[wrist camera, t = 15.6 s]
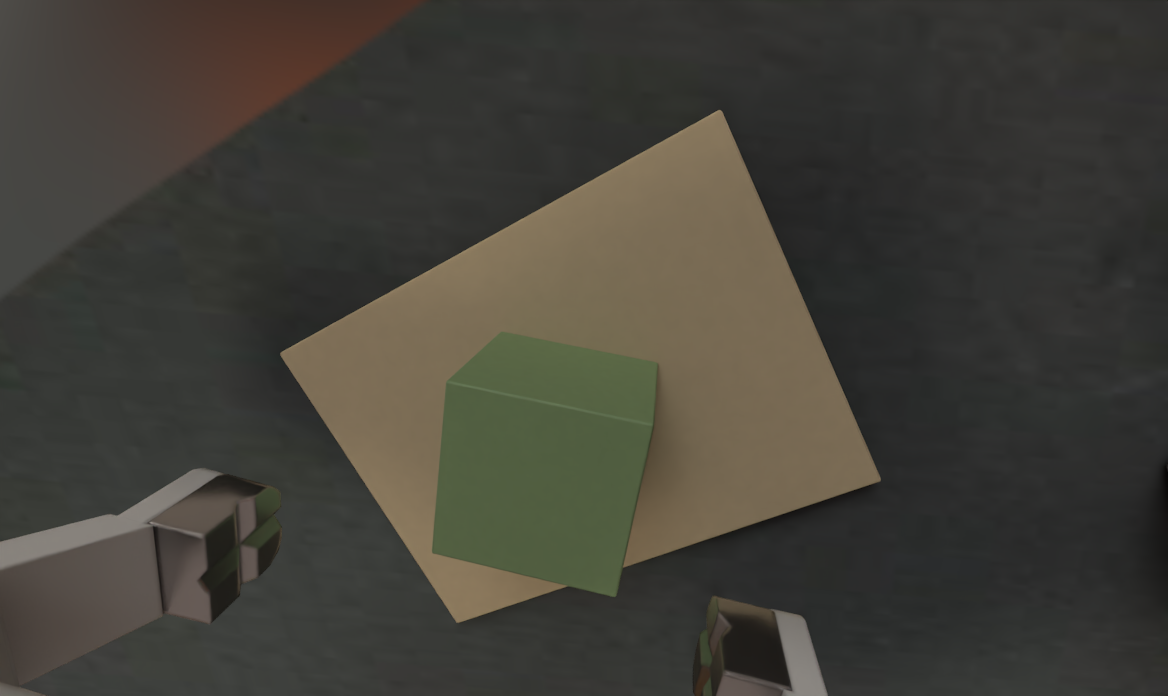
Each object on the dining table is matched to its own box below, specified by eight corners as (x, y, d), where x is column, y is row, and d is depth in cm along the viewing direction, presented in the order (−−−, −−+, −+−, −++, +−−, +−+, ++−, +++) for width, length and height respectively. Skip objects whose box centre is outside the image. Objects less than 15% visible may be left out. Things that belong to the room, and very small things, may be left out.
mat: (719, 111, 15) (721, 108, 14) (875, 471, 17) (882, 481, 17) (289, 348, 19) (278, 353, 19) (462, 612, 22) (456, 624, 21)
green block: (500, 330, 17) (444, 380, 13) (658, 361, 17) (654, 424, 12) (484, 468, 19) (430, 554, 14) (628, 501, 18) (616, 599, 14)
